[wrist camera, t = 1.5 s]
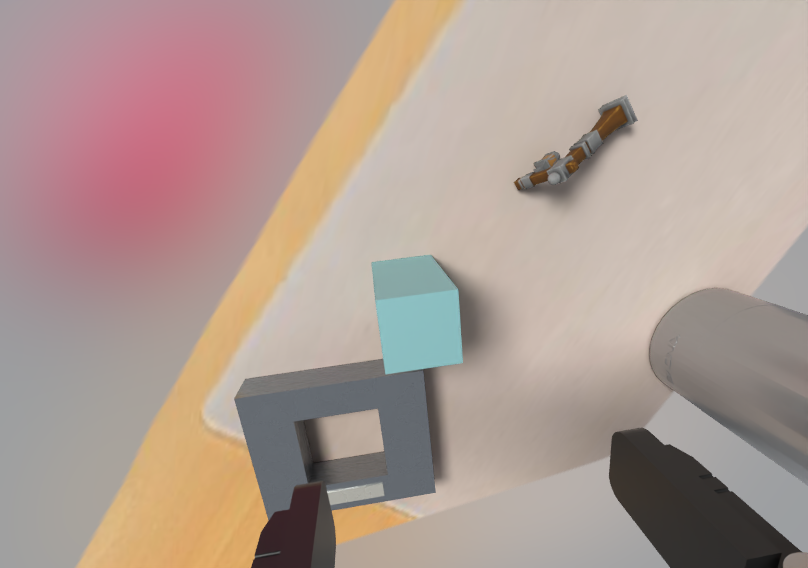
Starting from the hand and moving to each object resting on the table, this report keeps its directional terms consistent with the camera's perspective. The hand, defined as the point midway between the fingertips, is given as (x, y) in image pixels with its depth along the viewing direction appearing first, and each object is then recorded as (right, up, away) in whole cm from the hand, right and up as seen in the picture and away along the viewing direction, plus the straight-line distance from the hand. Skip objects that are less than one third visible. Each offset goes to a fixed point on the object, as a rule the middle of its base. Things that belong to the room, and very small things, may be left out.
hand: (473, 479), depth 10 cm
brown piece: (+9, +14, +15) cm, 23 cm away
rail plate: (-7, -6, +20) cm, 22 cm away
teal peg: (-2, +5, +17) cm, 18 cm away
